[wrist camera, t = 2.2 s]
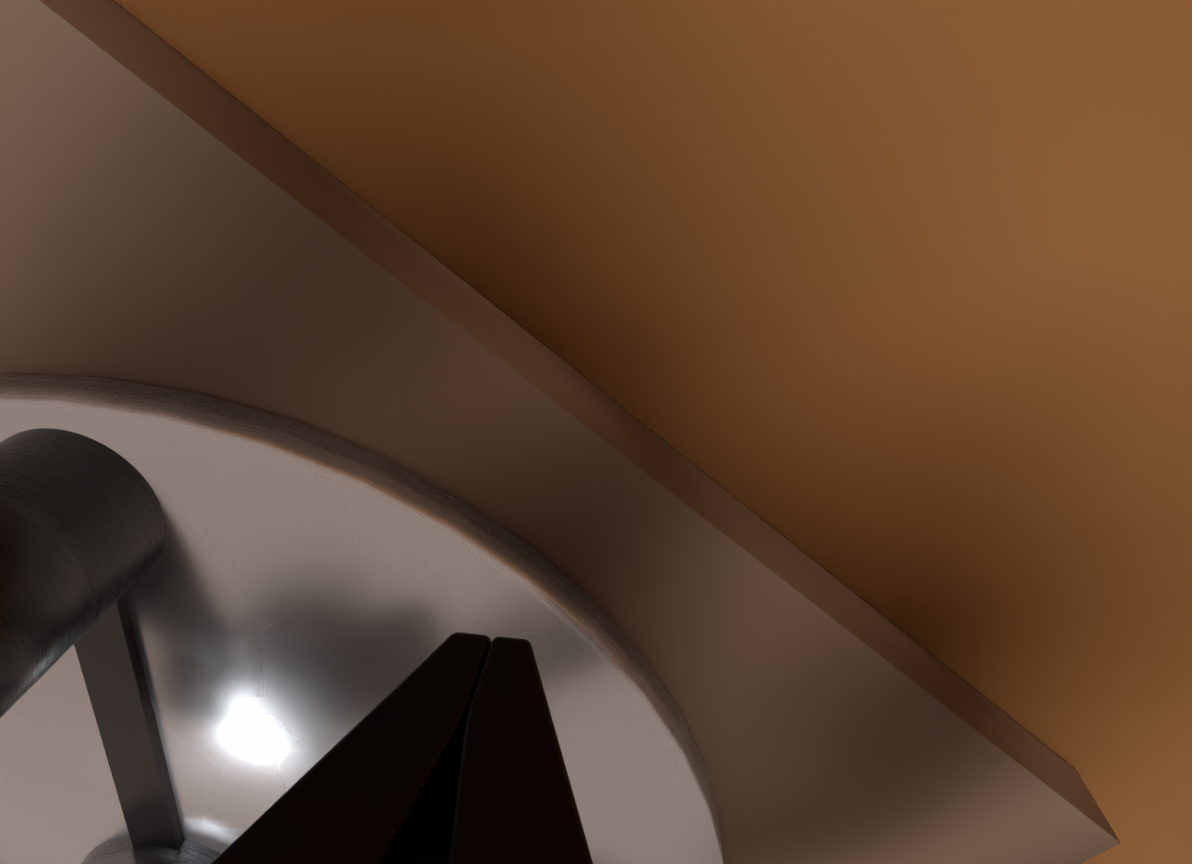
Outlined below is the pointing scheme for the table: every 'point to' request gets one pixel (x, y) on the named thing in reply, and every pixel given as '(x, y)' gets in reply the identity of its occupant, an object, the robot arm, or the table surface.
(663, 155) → the table surface
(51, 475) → the dial
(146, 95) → the walnut stand
